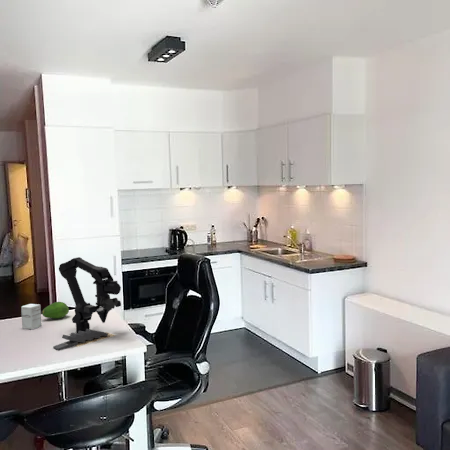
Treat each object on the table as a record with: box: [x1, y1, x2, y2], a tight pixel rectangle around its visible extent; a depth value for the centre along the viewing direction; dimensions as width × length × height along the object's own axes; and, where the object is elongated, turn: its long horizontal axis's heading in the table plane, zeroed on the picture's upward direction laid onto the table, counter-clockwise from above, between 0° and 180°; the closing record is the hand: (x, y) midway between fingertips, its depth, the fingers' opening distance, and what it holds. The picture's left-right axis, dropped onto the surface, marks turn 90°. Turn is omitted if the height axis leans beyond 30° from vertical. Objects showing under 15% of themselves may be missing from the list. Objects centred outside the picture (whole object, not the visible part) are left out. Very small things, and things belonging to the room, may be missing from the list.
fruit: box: [41, 301, 70, 320], centre depth 276 cm, size 15×10×10 cm, turn 120°
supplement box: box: [20, 303, 42, 330], centre depth 259 cm, size 7×7×13 cm
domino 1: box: [52, 340, 78, 351], centre depth 224 cm, size 2×5×10 cm
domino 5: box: [86, 329, 109, 336], centre depth 236 cm, size 2×5×10 cm
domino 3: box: [69, 332, 93, 341], centre depth 230 cm, size 2×5×10 cm
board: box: [75, 331, 117, 348], centre depth 235 cm, size 22×9×1 cm, turn 137°
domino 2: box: [61, 334, 85, 343], centre depth 227 cm, size 2×5×10 cm
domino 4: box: [78, 331, 101, 339], centre depth 233 cm, size 2×5×10 cm
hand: (103, 322), depth 239 cm, fingers closed
